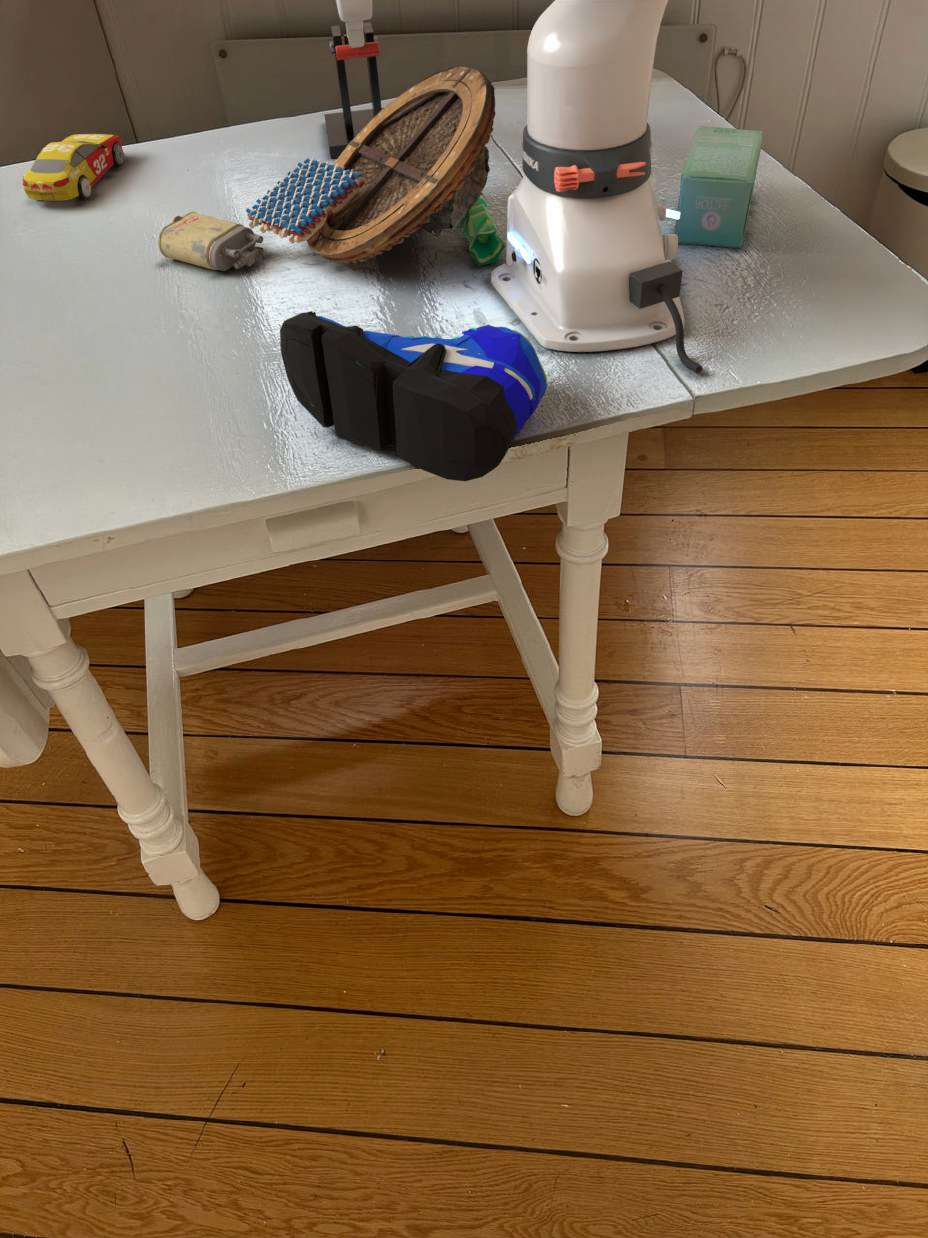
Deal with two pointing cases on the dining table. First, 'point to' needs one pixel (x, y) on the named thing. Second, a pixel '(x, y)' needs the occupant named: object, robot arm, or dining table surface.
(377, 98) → the bracket
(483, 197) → the candy
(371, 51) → the lever
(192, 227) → the lighter
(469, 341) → the sneaker
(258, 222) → the woven mat
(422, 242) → the dining table surface
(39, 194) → the toy car
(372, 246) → the round wicker shield
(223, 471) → the dining table surface
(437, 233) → the rock
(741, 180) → the box
